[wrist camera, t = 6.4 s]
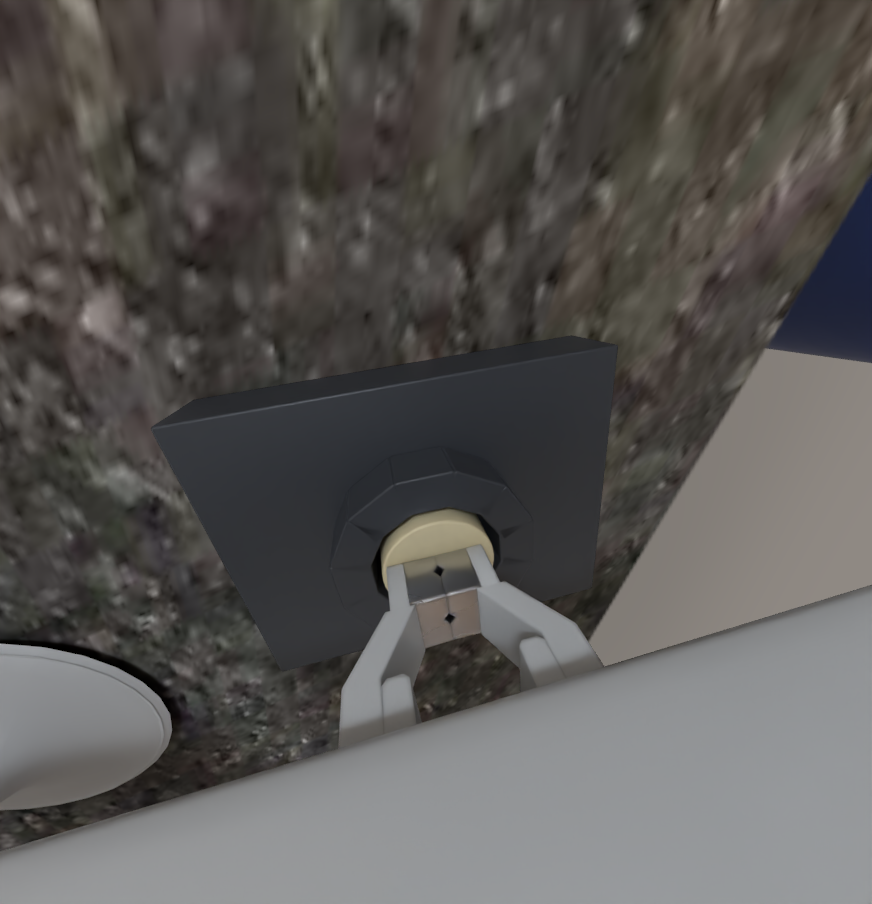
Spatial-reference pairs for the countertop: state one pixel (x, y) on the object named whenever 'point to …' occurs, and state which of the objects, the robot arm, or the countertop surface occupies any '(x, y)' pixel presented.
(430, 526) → the push button switch
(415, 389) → the push button plate
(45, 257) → the countertop surface
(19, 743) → the chalice
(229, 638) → the countertop surface
